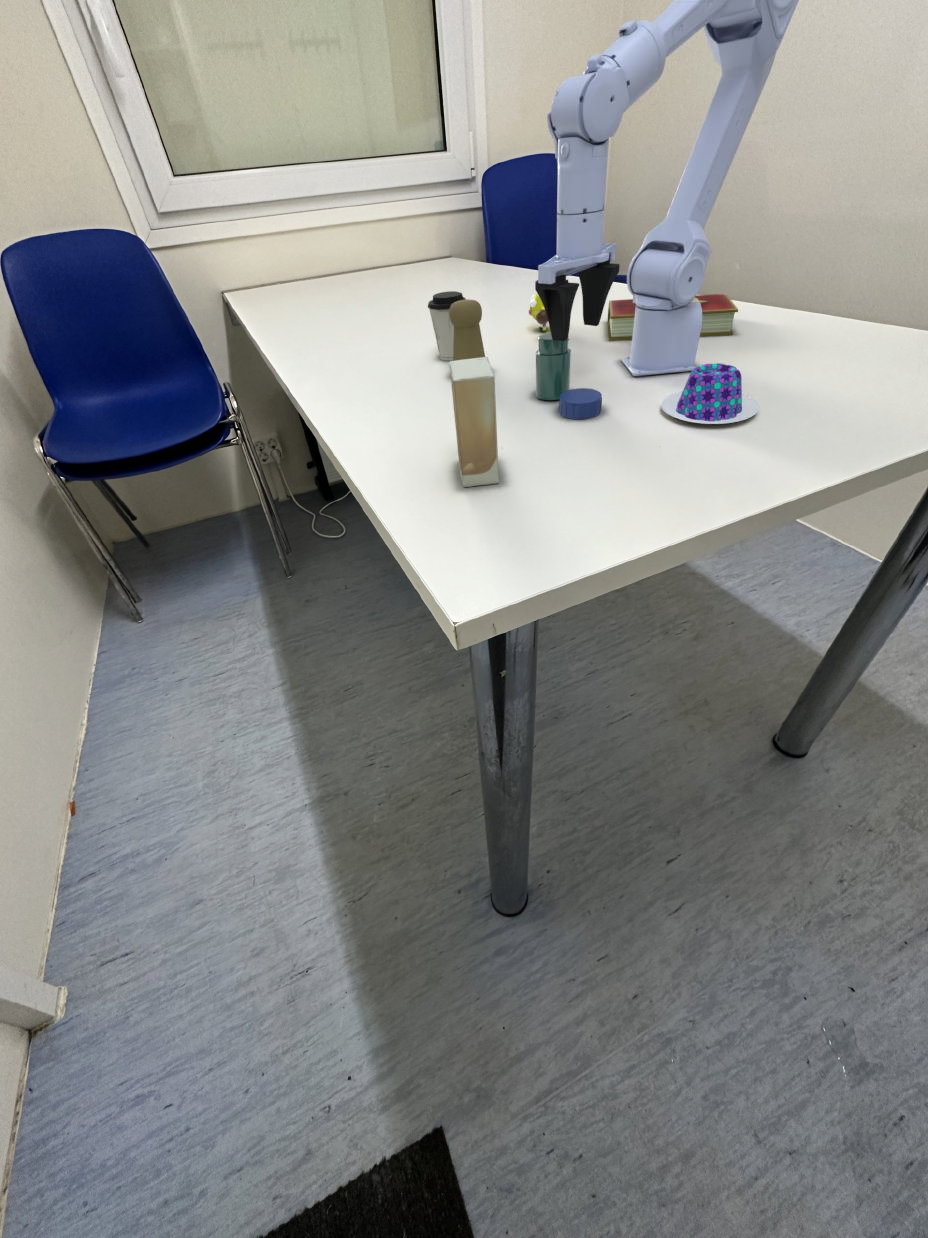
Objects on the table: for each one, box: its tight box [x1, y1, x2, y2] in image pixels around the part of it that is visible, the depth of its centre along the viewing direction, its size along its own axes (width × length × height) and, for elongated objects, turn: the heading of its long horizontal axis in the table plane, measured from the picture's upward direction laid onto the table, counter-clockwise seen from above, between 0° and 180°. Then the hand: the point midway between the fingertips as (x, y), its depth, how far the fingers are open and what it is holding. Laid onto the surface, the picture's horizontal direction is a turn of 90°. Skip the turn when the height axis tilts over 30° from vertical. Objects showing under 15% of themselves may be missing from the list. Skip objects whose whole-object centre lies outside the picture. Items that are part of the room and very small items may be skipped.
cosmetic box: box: [449, 356, 500, 488], centre depth 61 cm, size 6×4×12 cm
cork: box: [449, 298, 486, 361], centre depth 88 cm, size 6×6×11 cm
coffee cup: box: [427, 290, 467, 362], centre depth 96 cm, size 7×7×10 cm
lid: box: [558, 387, 603, 420], centre depth 75 cm, size 6×6×2 cm
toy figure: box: [528, 292, 549, 333], centre depth 105 cm, size 18×6×7 cm, turn 172°
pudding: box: [660, 362, 760, 425], centre depth 70 cm, size 12×12×5 cm
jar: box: [535, 332, 572, 401], centre depth 79 cm, size 5×5×8 cm
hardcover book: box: [606, 293, 739, 341], centre depth 100 cm, size 12×21×4 cm, turn 80°
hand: (575, 332), depth 76 cm, fingers open, 7 cm apart
